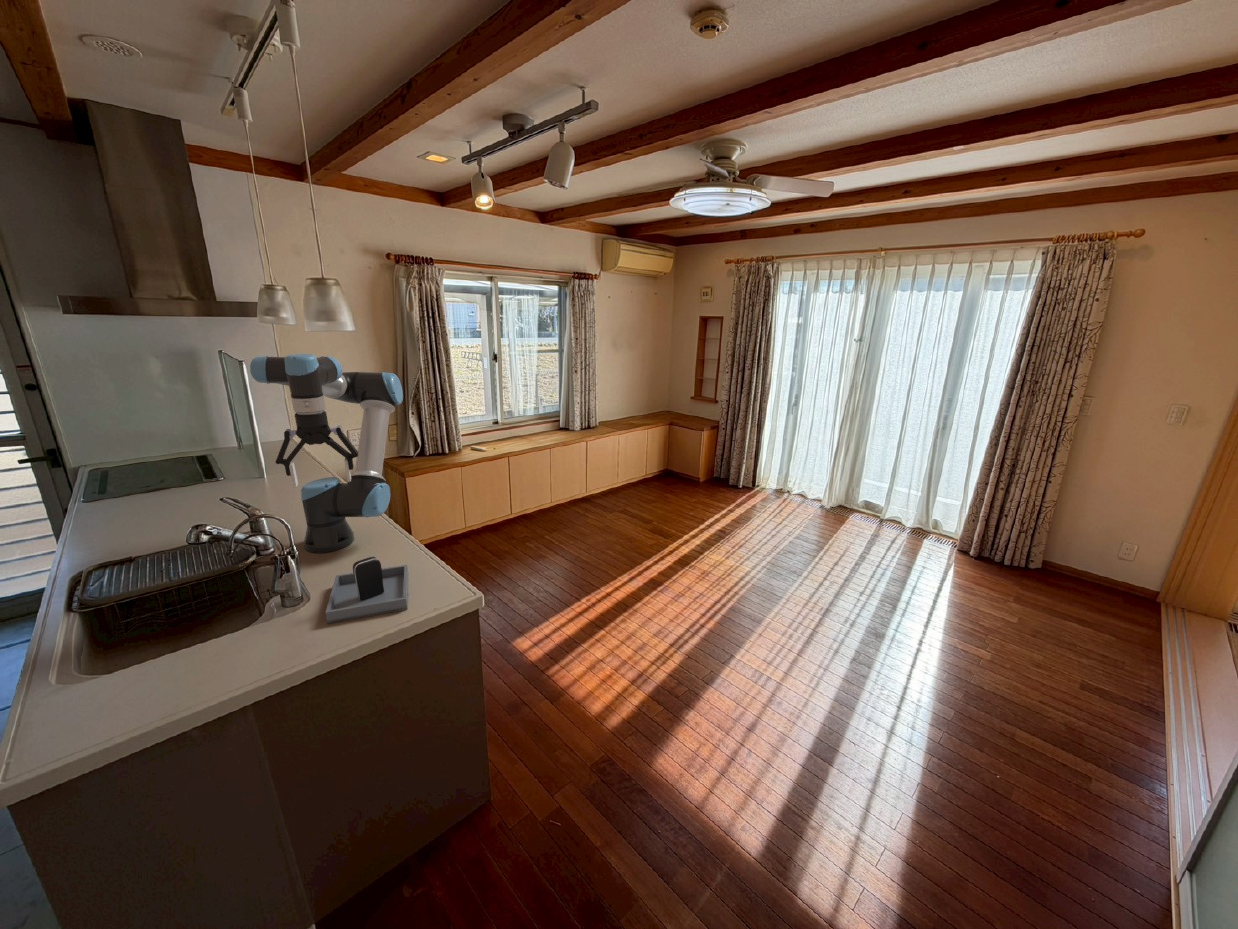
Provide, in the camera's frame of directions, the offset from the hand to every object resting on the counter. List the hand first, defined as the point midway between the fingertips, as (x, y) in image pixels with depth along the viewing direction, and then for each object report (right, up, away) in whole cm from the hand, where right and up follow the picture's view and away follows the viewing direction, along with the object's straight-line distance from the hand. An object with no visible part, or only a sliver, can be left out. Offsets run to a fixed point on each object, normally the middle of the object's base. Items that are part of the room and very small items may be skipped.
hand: (323, 482), depth 141 cm
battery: (+14, -33, 0) cm, 36 cm away
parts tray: (+14, -33, 0) cm, 36 cm away
